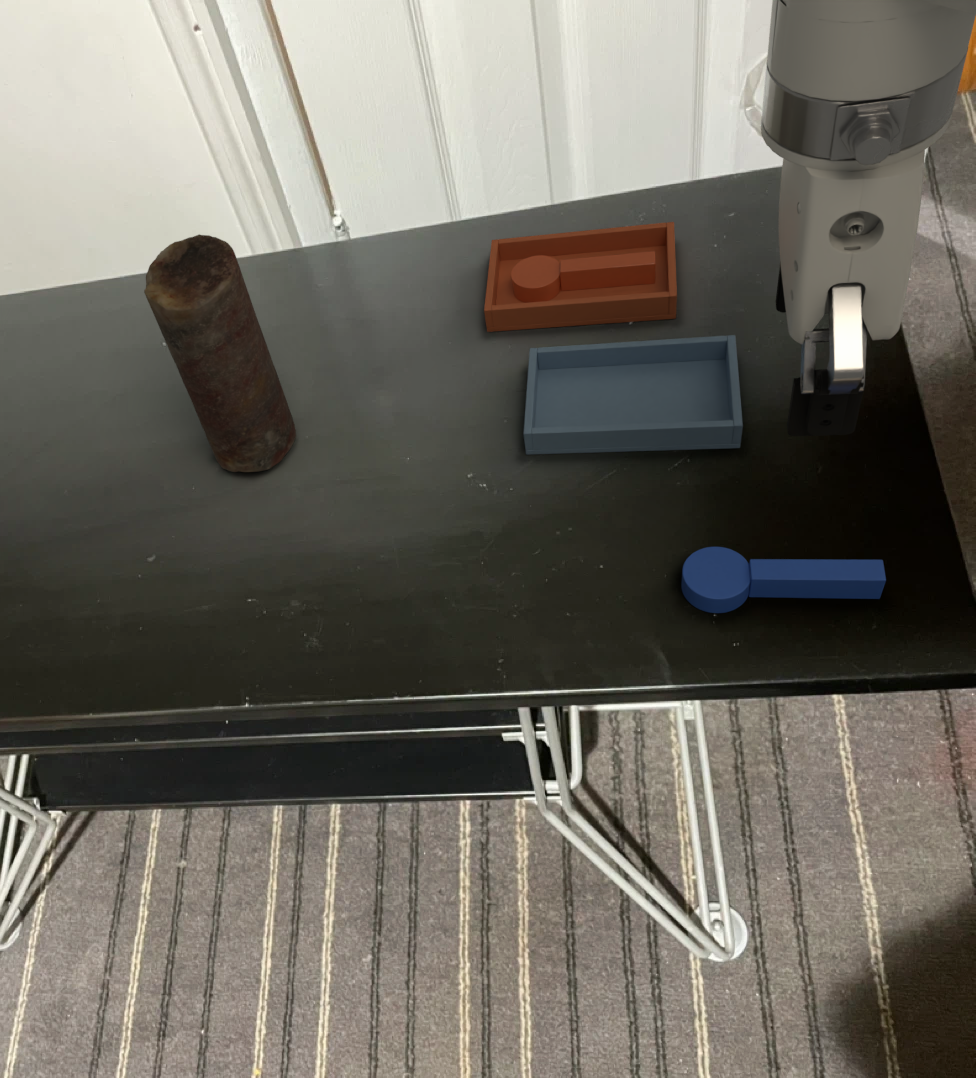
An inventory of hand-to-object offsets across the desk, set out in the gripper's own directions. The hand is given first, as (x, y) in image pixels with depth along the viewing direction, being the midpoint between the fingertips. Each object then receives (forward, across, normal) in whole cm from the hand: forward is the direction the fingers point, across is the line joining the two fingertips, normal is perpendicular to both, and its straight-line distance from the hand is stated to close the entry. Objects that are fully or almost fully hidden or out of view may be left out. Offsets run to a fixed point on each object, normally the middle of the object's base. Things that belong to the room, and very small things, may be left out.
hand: (812, 366), depth 59 cm
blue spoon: (+16, -4, +1) cm, 17 cm away
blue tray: (+16, +12, +10) cm, 22 cm away
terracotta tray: (+16, +26, +14) cm, 34 cm away
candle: (+16, +9, +40) cm, 44 cm away
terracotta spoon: (+15, +26, +14) cm, 33 cm away
